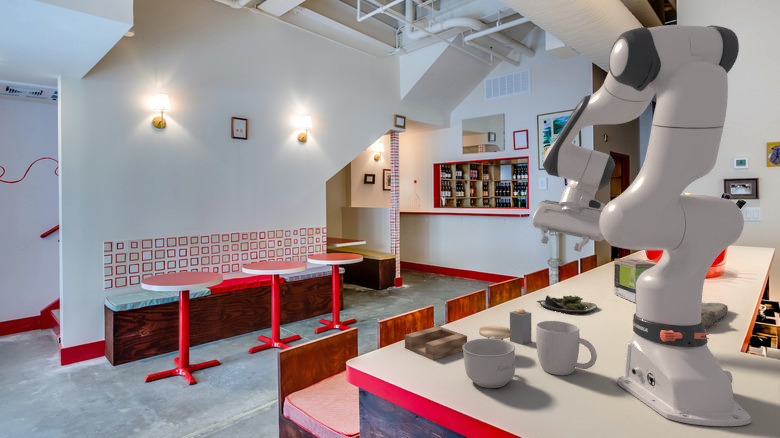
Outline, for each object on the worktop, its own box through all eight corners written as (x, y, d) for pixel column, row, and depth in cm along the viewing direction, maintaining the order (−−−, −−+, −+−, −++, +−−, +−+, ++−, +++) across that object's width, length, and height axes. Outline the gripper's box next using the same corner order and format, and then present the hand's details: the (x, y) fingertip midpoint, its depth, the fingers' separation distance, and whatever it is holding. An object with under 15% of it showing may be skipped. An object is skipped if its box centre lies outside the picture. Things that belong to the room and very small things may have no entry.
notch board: (438, 338, 118) (438, 326, 117) (467, 349, 109) (467, 335, 109) (404, 347, 110) (404, 334, 110) (433, 360, 102) (432, 345, 101)
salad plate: (561, 299, 162) (561, 287, 162) (608, 308, 148) (608, 295, 147) (531, 307, 151) (531, 294, 151) (578, 318, 136) (578, 304, 136)
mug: (530, 371, 94) (529, 327, 94) (545, 359, 101) (545, 318, 100) (590, 387, 86) (590, 339, 85) (602, 373, 92) (602, 328, 92)
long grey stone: (736, 317, 138) (700, 313, 146) (736, 301, 138) (699, 298, 146) (706, 334, 116) (665, 328, 124) (705, 315, 116) (665, 310, 124)
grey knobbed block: (519, 338, 117) (518, 307, 116) (531, 341, 113) (531, 310, 113) (510, 341, 114) (509, 310, 114) (522, 345, 111) (522, 313, 111)
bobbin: (515, 360, 100) (514, 335, 100) (481, 359, 101) (481, 335, 101) (509, 348, 108) (509, 325, 108) (478, 348, 109) (477, 325, 109)
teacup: (506, 398, 82) (506, 358, 81) (455, 386, 87) (454, 348, 87) (524, 372, 93) (524, 337, 93) (478, 363, 99) (478, 330, 99)
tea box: (662, 303, 152) (662, 263, 151) (634, 303, 152) (635, 263, 151) (638, 294, 167) (638, 257, 166) (613, 294, 167) (613, 257, 166)
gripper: (538, 193, 127) (522, 233, 123) (611, 205, 114) (596, 250, 111) (542, 203, 132) (527, 242, 128) (613, 216, 119) (598, 259, 115)
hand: (560, 246), depth 119 cm, fingers open, 8 cm apart
